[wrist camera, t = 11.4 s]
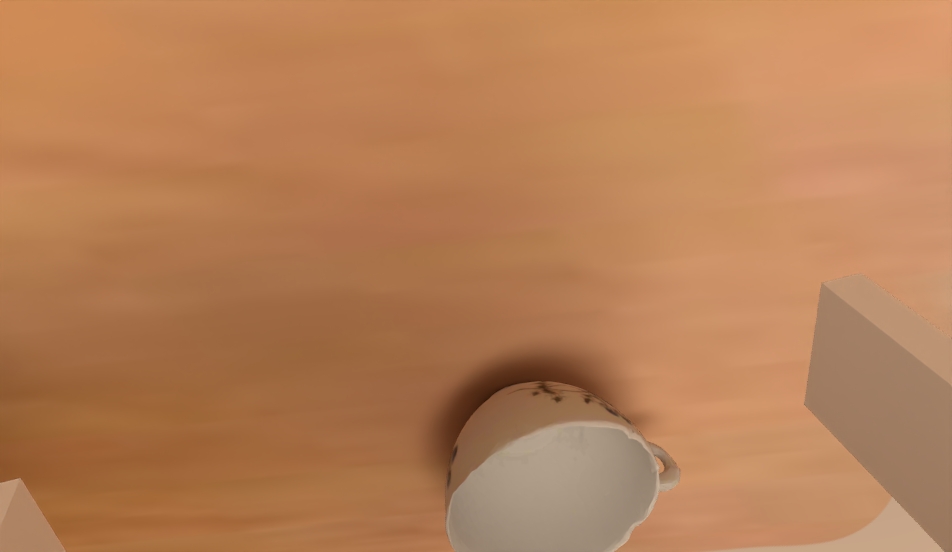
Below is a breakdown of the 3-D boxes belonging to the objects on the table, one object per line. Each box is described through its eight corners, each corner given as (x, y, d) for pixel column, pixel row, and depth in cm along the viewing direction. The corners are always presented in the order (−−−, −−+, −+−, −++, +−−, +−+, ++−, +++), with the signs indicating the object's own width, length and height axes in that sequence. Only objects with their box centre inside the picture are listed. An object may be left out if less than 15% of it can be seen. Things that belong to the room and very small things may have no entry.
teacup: (411, 495, 49) (433, 598, 42) (435, 337, 43) (465, 427, 37) (617, 483, 53) (667, 575, 46) (664, 337, 48) (729, 418, 41)
